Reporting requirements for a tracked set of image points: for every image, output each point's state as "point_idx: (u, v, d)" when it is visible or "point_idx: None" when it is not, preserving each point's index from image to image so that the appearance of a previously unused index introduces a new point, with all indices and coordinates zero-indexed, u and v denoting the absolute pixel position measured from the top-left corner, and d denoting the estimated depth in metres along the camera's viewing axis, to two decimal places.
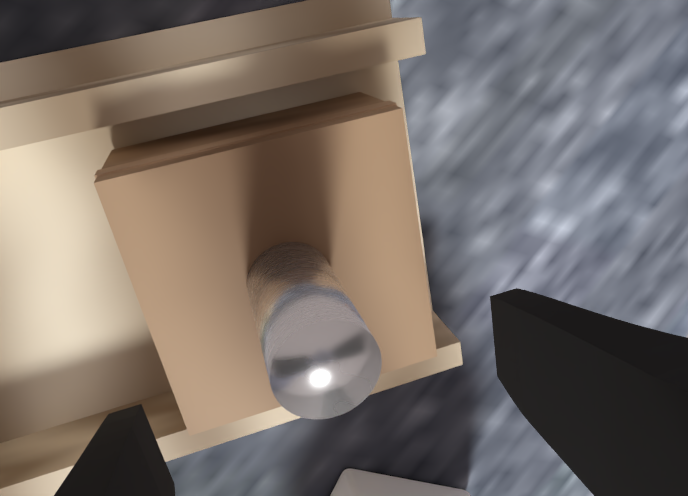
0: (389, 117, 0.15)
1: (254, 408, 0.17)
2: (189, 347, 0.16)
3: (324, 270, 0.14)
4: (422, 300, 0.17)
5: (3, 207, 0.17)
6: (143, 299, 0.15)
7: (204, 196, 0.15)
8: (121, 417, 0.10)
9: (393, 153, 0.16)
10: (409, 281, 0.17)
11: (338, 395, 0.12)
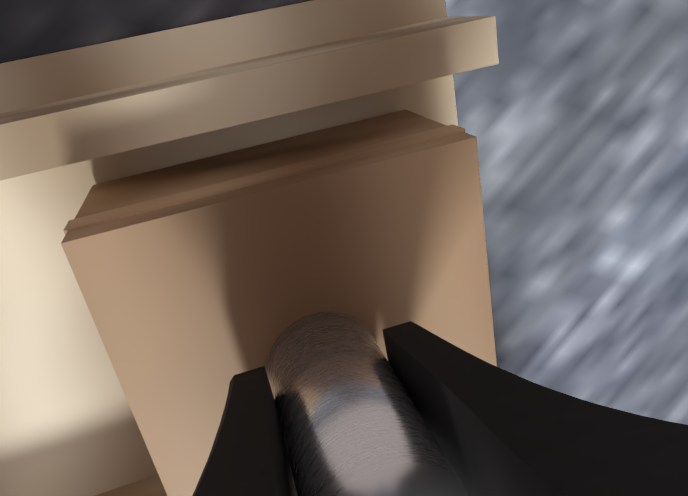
0: (458, 149, 0.11)
1: None
2: (192, 447, 0.12)
3: (376, 360, 0.11)
4: None
5: None
6: (131, 391, 0.11)
7: (212, 257, 0.11)
8: (250, 376, 0.10)
9: (461, 195, 0.12)
10: (474, 355, 0.13)
11: None
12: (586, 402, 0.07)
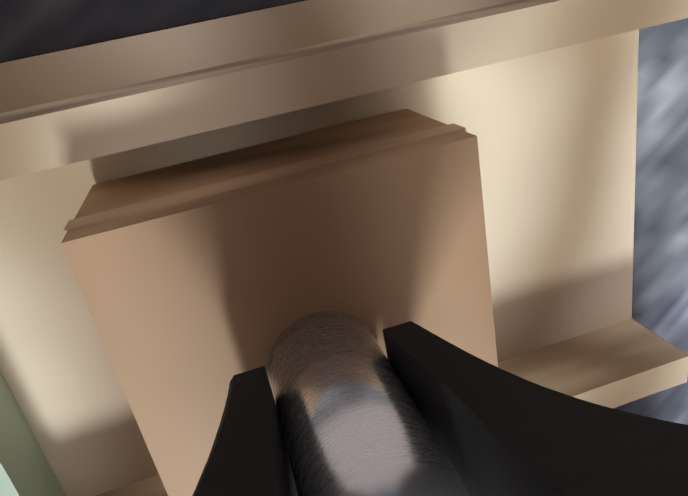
0: (459, 148, 0.11)
1: None
2: (192, 447, 0.12)
3: (376, 359, 0.10)
4: None
5: None
6: (131, 391, 0.11)
7: (212, 256, 0.11)
8: (250, 376, 0.10)
9: (462, 195, 0.12)
10: (475, 354, 0.13)
11: None
12: (586, 402, 0.07)
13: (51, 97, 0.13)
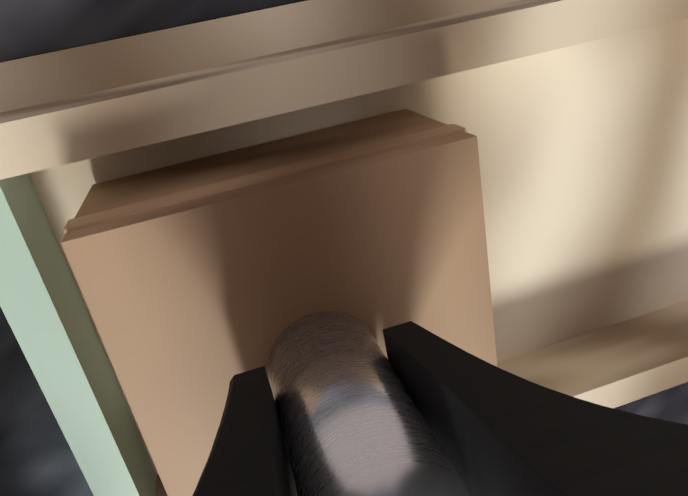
0: (459, 148, 0.11)
1: None
2: (192, 447, 0.12)
3: (376, 359, 0.10)
4: None
5: None
6: (131, 390, 0.11)
7: (212, 256, 0.11)
8: (250, 376, 0.10)
9: (462, 195, 0.12)
10: (474, 354, 0.13)
11: None
12: (587, 402, 0.07)
13: (164, 72, 0.13)
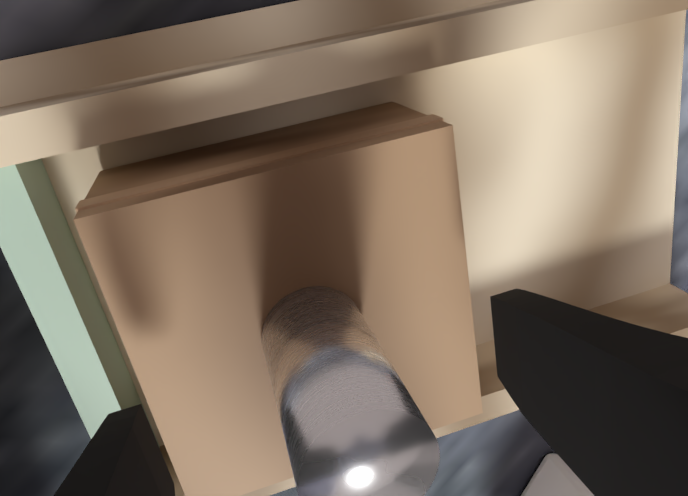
0: (436, 136, 0.12)
1: (268, 478, 0.15)
2: (191, 411, 0.13)
3: (359, 327, 0.12)
4: (468, 350, 0.15)
5: None
6: (136, 357, 0.12)
7: (210, 234, 0.12)
8: (121, 417, 0.10)
9: (440, 179, 0.13)
10: (453, 329, 0.14)
11: None
12: None
13: (167, 66, 0.14)
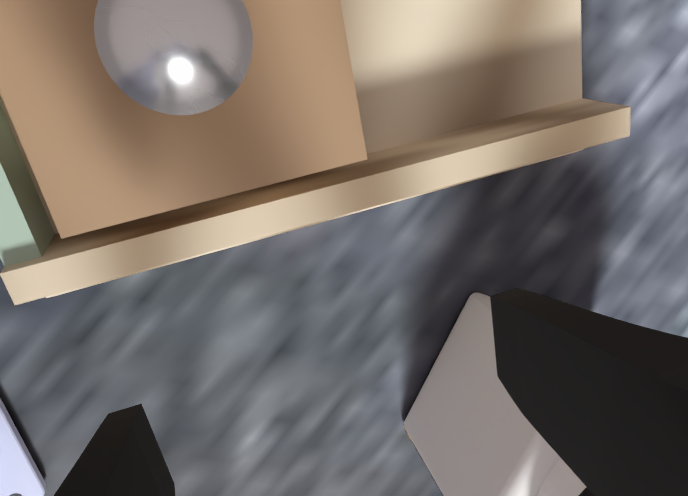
0: None
1: (142, 208, 0.14)
2: (51, 113, 0.13)
3: None
4: (345, 80, 0.15)
5: None
6: None
7: None
8: (121, 416, 0.10)
9: None
10: (327, 51, 0.14)
11: (196, 81, 0.09)
12: None
13: None
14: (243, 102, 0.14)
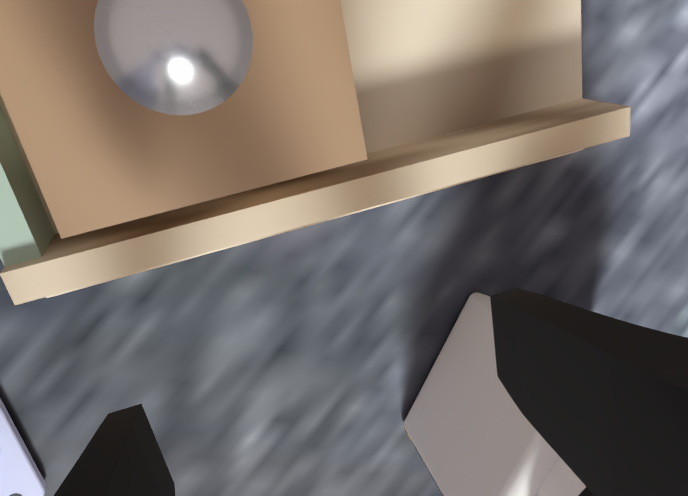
0: None
1: (142, 208, 0.14)
2: (51, 113, 0.13)
3: None
4: (345, 80, 0.15)
5: None
6: None
7: None
8: (121, 416, 0.10)
9: None
10: (327, 51, 0.14)
11: (196, 81, 0.09)
12: None
13: None
14: (243, 102, 0.14)
